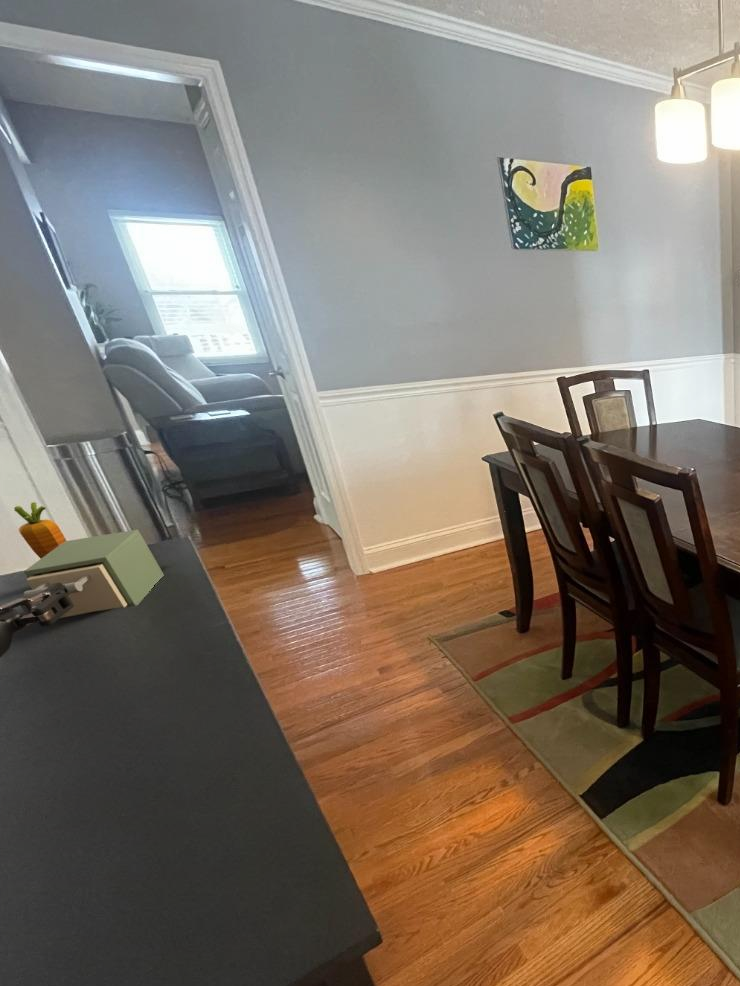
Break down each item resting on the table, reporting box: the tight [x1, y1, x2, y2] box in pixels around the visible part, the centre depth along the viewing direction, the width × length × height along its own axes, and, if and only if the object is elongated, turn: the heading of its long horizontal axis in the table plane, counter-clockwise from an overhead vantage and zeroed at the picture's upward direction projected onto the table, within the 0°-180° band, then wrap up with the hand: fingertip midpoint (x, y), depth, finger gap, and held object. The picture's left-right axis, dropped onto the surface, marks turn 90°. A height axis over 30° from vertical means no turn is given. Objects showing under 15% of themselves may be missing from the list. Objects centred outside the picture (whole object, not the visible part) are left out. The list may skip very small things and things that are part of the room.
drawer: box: [23, 562, 127, 619], centre depth 99 cm, size 16×9×8 cm, turn 25°
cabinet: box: [23, 529, 165, 608], centre depth 103 cm, size 13×10×10 cm
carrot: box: [13, 501, 67, 560], centre depth 109 cm, size 5×5×15 cm
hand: (22, 595), depth 86 cm, fingers open, 8 cm apart
